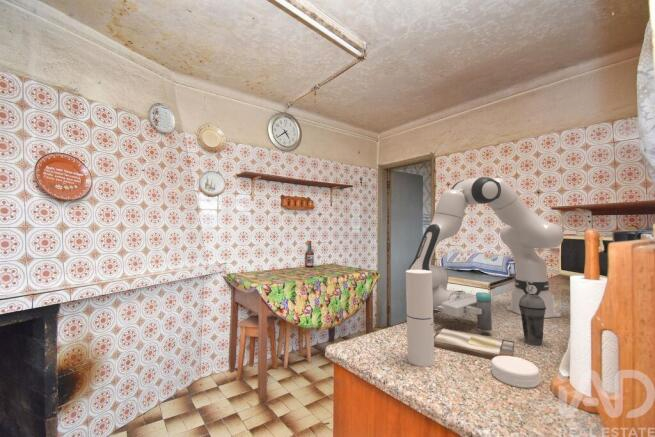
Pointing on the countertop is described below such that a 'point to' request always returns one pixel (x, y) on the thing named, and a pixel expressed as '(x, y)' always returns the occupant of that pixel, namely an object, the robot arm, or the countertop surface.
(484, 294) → the bottle
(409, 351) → the cylindrical container
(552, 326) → the countertop surface
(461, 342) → the clipboard
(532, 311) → the beverage cup
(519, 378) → the coaster
